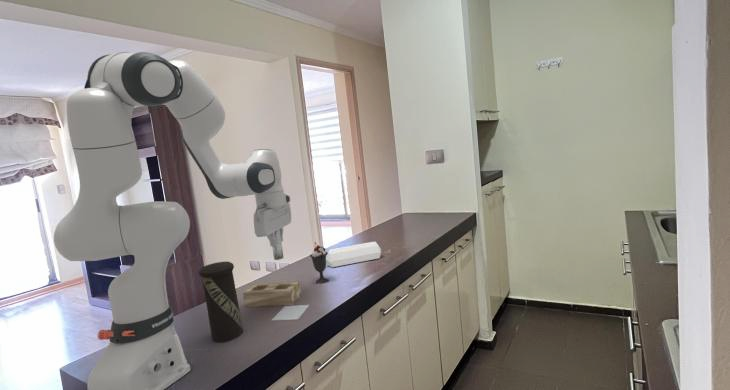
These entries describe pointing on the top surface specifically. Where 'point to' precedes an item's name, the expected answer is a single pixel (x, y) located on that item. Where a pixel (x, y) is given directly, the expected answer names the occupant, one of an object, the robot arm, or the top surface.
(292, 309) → the mat
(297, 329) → the top surface
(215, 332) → the container
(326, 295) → the top surface
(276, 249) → the peg
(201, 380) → the top surface
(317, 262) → the sundae
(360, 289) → the top surface
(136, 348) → the robot arm
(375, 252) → the crystal
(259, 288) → the socket block
